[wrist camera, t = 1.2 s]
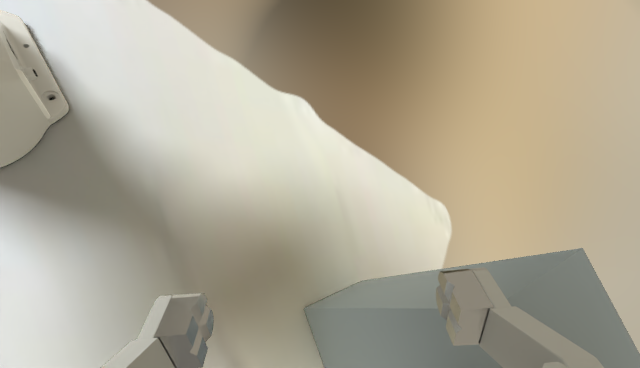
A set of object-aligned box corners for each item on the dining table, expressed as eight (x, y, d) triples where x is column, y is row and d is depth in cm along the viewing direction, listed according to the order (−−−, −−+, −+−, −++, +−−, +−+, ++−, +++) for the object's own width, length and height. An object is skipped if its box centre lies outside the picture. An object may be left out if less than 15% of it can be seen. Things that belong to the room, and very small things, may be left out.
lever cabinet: (299, 310, 45) (485, 313, 18) (361, 280, 50) (582, 248, 22) (334, 409, 42) (614, 591, 15) (396, 368, 47) (691, 450, 20)
